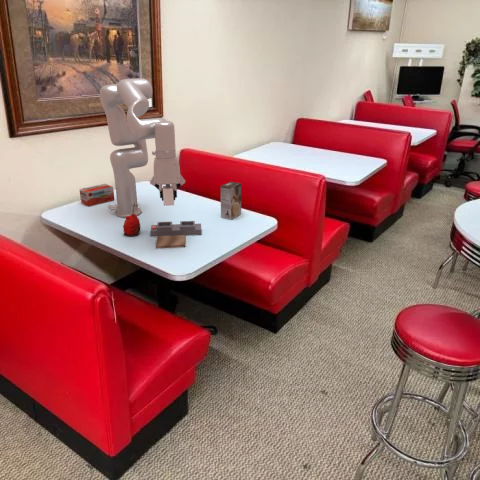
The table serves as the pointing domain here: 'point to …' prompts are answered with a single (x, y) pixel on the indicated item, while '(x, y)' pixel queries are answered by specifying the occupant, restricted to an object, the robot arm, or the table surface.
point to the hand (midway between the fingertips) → (168, 198)
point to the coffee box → (230, 200)
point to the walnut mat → (171, 241)
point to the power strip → (176, 229)
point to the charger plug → (168, 195)
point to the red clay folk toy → (131, 224)
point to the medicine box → (96, 194)
